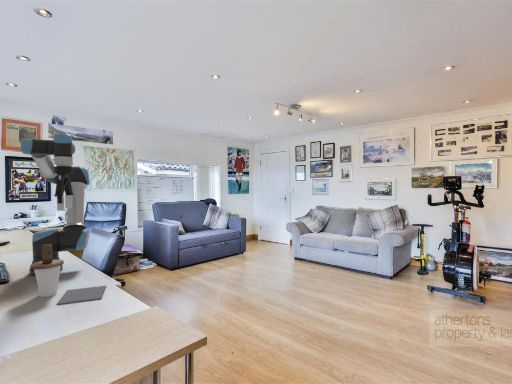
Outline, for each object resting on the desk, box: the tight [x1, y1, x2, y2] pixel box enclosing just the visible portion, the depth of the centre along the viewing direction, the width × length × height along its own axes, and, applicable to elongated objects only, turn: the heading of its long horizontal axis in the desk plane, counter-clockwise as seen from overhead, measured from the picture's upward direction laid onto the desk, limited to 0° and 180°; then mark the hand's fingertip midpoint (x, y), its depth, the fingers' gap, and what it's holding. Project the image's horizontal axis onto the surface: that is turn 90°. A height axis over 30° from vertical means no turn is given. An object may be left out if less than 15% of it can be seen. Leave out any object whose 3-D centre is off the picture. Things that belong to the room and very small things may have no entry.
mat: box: [56, 285, 107, 306], centre depth 126 cm, size 16×16×1 cm
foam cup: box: [34, 266, 61, 298], centre depth 127 cm, size 10×9×13 cm
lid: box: [29, 244, 64, 269], centre depth 127 cm, size 12×12×9 cm
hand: (64, 209), depth 141 cm, fingers open, 13 cm apart
